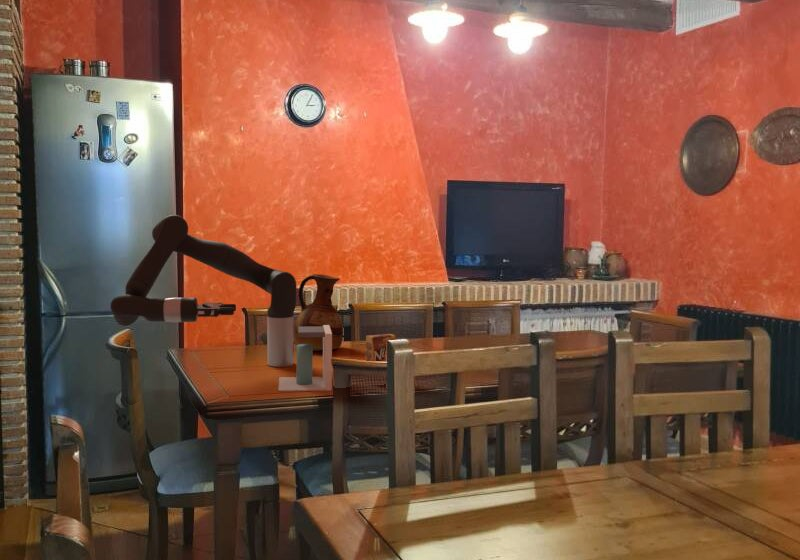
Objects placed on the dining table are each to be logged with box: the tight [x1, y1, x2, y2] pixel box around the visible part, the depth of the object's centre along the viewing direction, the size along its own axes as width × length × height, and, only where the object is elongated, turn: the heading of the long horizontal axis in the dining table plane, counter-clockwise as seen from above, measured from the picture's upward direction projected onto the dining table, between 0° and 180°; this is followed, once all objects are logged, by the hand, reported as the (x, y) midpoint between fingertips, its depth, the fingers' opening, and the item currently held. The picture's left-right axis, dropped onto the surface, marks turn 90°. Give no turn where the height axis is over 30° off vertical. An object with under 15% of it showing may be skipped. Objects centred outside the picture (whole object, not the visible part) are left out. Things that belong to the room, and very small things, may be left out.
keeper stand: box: [278, 325, 333, 392], centre depth 240 cm, size 18×16×18 cm
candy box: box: [364, 333, 396, 361], centre depth 245 cm, size 9×4×15 cm, turn 123°
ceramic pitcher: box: [294, 273, 344, 352], centre depth 300 cm, size 20×20×30 cm
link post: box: [295, 344, 314, 385], centre depth 240 cm, size 5×5×12 cm
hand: (234, 309), depth 235 cm, fingers open, 8 cm apart
